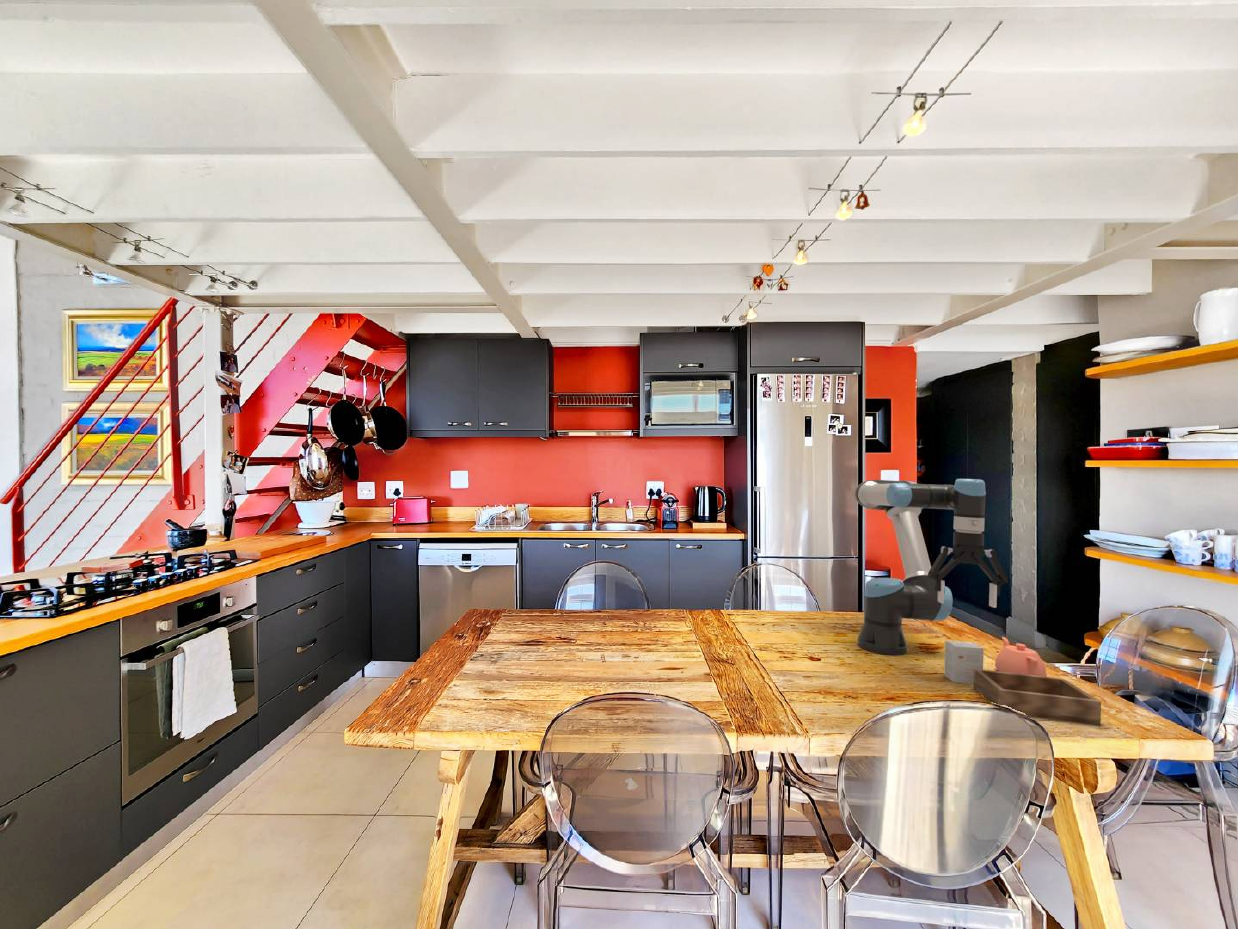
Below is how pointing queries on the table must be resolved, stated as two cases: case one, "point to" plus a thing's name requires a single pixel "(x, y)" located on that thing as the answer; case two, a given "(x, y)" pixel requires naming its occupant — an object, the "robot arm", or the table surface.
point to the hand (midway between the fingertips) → (966, 604)
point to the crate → (1038, 696)
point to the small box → (962, 661)
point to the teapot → (1019, 660)
